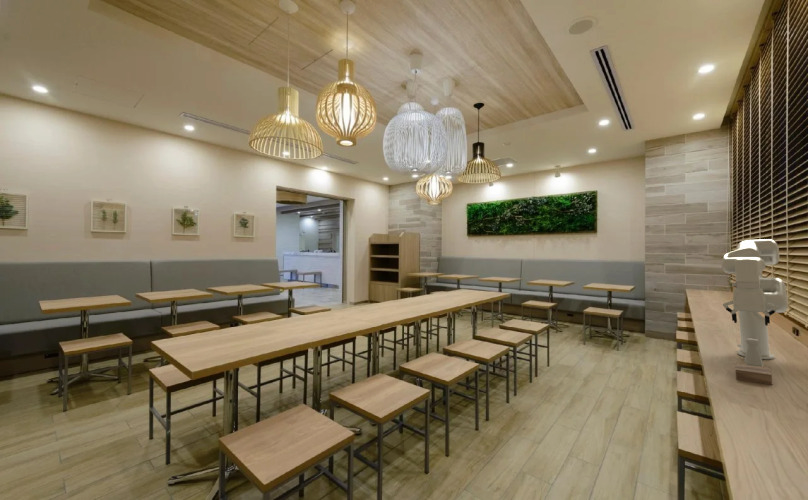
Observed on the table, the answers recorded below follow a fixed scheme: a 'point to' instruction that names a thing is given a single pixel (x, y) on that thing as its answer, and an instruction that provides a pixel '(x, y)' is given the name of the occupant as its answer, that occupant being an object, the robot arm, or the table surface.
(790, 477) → the table surface
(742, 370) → the block
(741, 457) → the table surface
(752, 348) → the salt shaker
